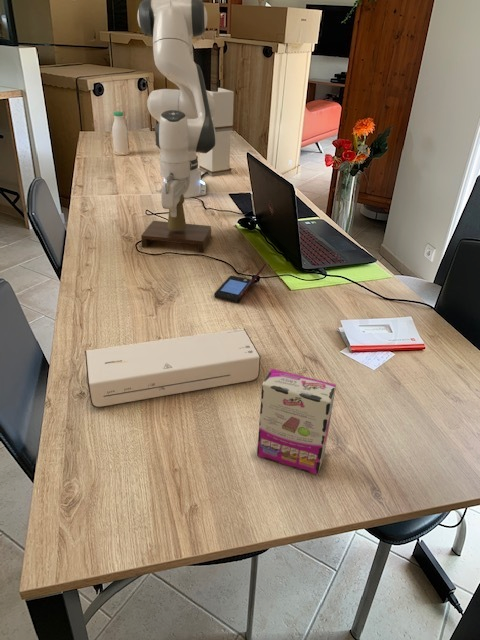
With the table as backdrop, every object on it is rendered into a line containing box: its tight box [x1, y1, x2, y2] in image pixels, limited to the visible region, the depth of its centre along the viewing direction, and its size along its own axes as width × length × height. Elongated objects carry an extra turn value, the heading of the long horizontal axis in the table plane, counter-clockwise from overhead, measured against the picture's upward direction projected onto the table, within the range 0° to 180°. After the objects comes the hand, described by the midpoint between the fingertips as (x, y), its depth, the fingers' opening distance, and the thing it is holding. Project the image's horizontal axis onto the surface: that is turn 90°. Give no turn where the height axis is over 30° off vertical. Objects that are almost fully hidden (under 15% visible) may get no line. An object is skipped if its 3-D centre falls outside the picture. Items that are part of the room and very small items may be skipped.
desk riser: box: [140, 220, 212, 254], centre depth 160 cm, size 13×20×4 cm, turn 82°
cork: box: [167, 194, 187, 230], centre depth 156 cm, size 6×6×11 cm
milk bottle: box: [111, 110, 130, 156], centre depth 246 cm, size 8×8×20 cm
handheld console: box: [213, 263, 267, 304], centre depth 133 cm, size 12×11×7 cm
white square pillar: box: [198, 87, 235, 177], centre depth 222 cm, size 11×11×35 cm
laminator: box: [84, 327, 262, 409], centre depth 102 cm, size 34×12×6 cm, turn 107°
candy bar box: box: [256, 368, 337, 476], centre depth 82 cm, size 11×5×16 cm, turn 69°
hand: (176, 213), depth 156 cm, fingers closed on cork, 4 cm apart
